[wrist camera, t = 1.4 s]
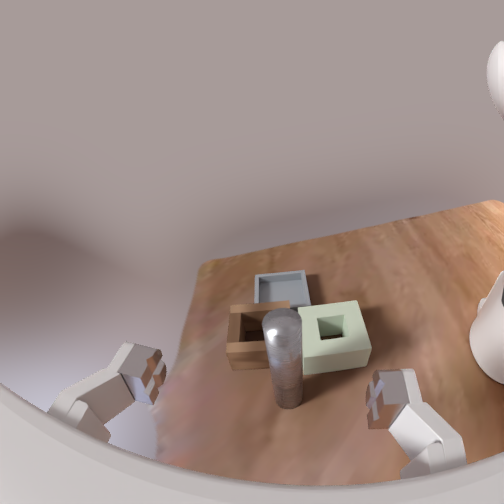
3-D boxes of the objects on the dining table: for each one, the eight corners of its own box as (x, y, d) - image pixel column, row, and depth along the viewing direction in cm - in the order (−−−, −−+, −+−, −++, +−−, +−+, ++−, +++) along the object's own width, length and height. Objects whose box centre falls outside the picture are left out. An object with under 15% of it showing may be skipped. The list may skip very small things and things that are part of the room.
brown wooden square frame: (290, 319, 41) (289, 300, 39) (295, 365, 34) (294, 347, 32) (235, 324, 42) (230, 305, 39) (232, 370, 35) (225, 352, 33)
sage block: (353, 320, 39) (356, 300, 37) (366, 366, 32) (371, 348, 30) (298, 326, 40) (297, 307, 37) (303, 375, 33) (303, 357, 31)
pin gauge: (301, 384, 32) (299, 306, 24) (303, 407, 29) (303, 335, 21) (274, 387, 32) (262, 309, 24) (275, 410, 30) (262, 339, 22)
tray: (304, 279, 48) (304, 270, 46) (310, 315, 41) (310, 305, 40) (256, 284, 48) (255, 275, 47) (256, 320, 42) (254, 310, 41)
